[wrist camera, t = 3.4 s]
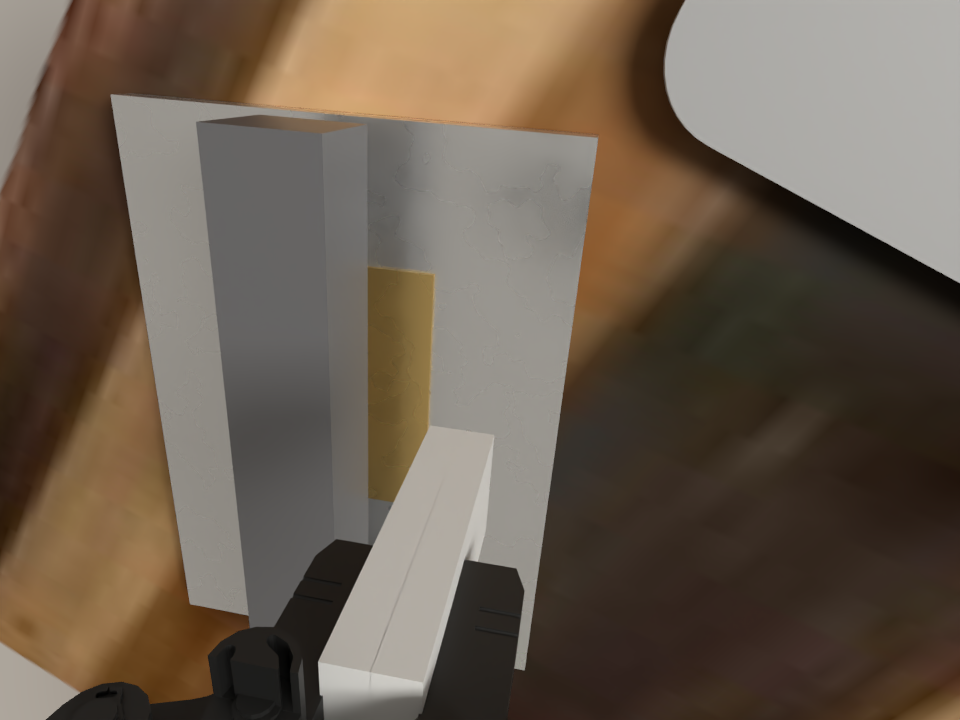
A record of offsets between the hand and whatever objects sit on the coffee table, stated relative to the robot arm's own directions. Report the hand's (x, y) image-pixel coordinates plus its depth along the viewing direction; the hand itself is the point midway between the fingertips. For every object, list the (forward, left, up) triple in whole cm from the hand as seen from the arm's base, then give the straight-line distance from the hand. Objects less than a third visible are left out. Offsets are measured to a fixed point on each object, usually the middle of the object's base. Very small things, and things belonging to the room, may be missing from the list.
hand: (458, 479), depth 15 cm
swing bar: (+8, +7, -10) cm, 15 cm away
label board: (+8, +7, -15) cm, 18 cm away
